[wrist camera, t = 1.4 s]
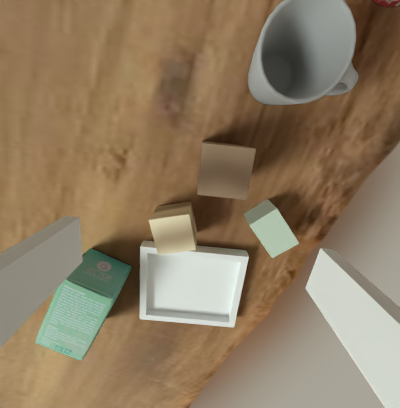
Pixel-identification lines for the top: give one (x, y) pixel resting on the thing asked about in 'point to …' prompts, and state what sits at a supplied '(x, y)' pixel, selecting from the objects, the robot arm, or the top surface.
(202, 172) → the walnut block
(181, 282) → the tray
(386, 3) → the mug
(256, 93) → the cup
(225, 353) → the top surface
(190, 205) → the oak block
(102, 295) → the box
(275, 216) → the sage block
